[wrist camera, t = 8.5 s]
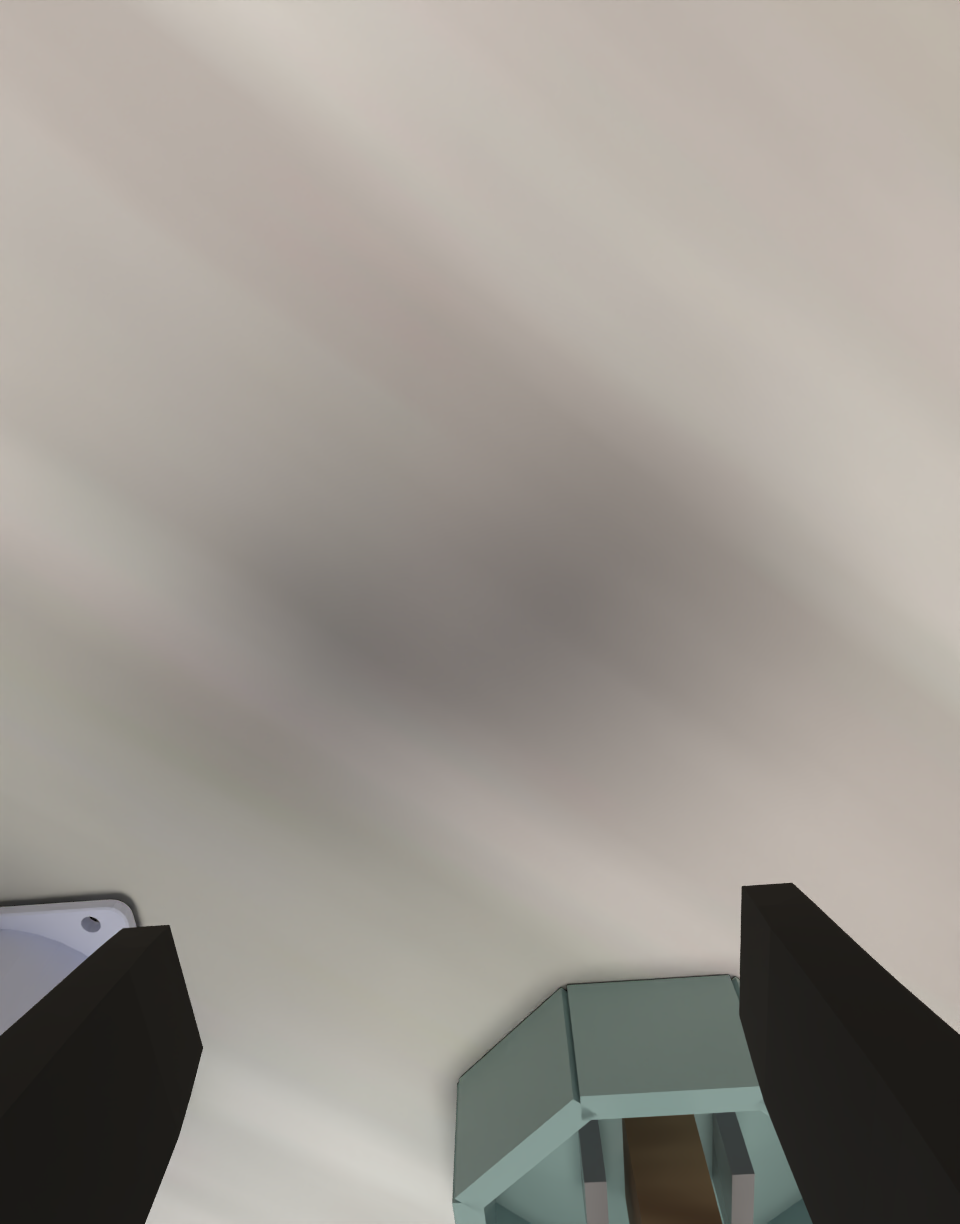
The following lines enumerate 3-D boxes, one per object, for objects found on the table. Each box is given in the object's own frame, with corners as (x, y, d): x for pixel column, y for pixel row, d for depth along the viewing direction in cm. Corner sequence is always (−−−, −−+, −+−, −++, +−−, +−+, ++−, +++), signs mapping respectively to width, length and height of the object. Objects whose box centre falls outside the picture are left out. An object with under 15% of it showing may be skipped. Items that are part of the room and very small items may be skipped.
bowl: (481, 1262, 27) (481, 1394, 23) (445, 992, 23) (437, 1104, 19) (832, 1245, 26) (881, 1376, 23) (854, 966, 22) (918, 1077, 19)
